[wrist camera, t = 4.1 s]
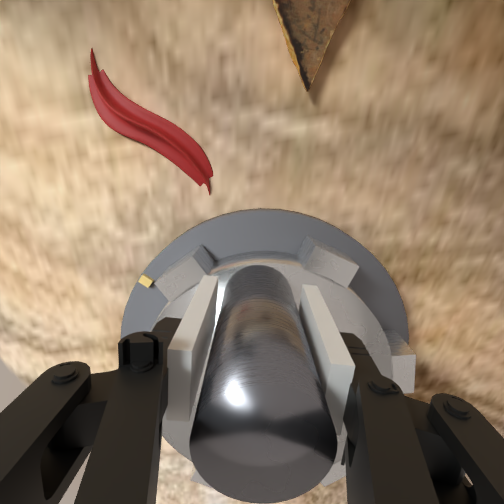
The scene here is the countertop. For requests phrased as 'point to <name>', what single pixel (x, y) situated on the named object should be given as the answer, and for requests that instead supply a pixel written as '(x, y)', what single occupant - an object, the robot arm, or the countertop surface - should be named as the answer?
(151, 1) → the countertop surface
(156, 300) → the base plate
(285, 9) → the shard
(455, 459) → the robot arm
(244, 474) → the tabbed dome lid
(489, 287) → the countertop surface
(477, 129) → the countertop surface
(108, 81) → the cayenne pepper
